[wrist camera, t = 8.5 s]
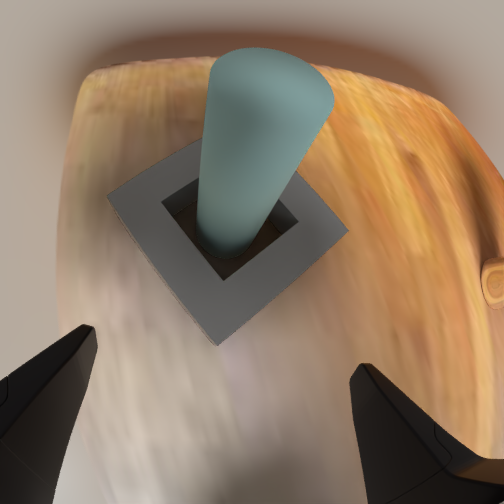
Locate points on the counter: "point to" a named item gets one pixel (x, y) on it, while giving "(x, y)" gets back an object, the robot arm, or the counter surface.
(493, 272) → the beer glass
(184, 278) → the socket block
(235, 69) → the peg
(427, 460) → the robot arm
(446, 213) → the counter surface
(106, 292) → the counter surface
